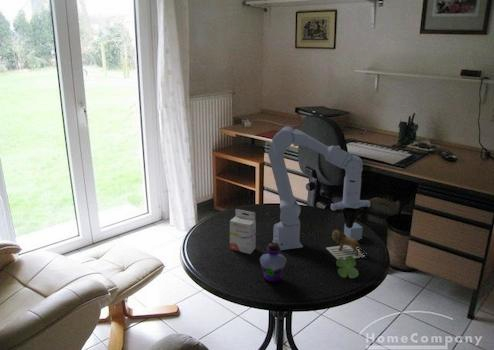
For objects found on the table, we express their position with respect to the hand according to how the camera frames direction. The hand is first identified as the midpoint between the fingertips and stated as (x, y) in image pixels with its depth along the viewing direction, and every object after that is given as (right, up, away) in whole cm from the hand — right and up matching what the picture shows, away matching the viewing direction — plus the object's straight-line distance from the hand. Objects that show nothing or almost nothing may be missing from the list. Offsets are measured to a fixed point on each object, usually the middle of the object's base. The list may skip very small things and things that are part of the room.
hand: (348, 226), depth 146 cm
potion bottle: (-28, -15, -15) cm, 35 cm away
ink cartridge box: (-38, -9, +4) cm, 39 cm away
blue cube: (+5, -6, +14) cm, 16 cm away
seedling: (-3, -13, -8) cm, 16 cm away
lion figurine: (0, -9, +3) cm, 10 cm away
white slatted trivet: (0, -9, +3) cm, 10 cm away
